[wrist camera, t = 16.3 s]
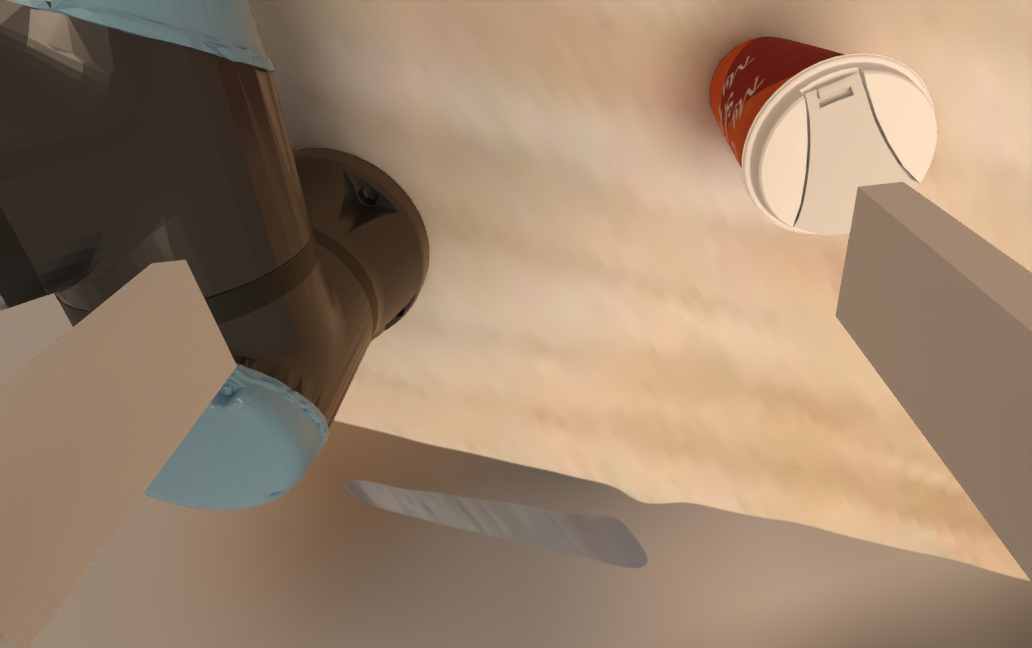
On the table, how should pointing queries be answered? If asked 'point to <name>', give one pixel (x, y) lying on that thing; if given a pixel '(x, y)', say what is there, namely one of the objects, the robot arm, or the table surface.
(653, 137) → the table surface
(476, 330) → the table surface
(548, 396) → the table surface
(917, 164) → the coffee cup
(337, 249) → the robot arm
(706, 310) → the table surface
